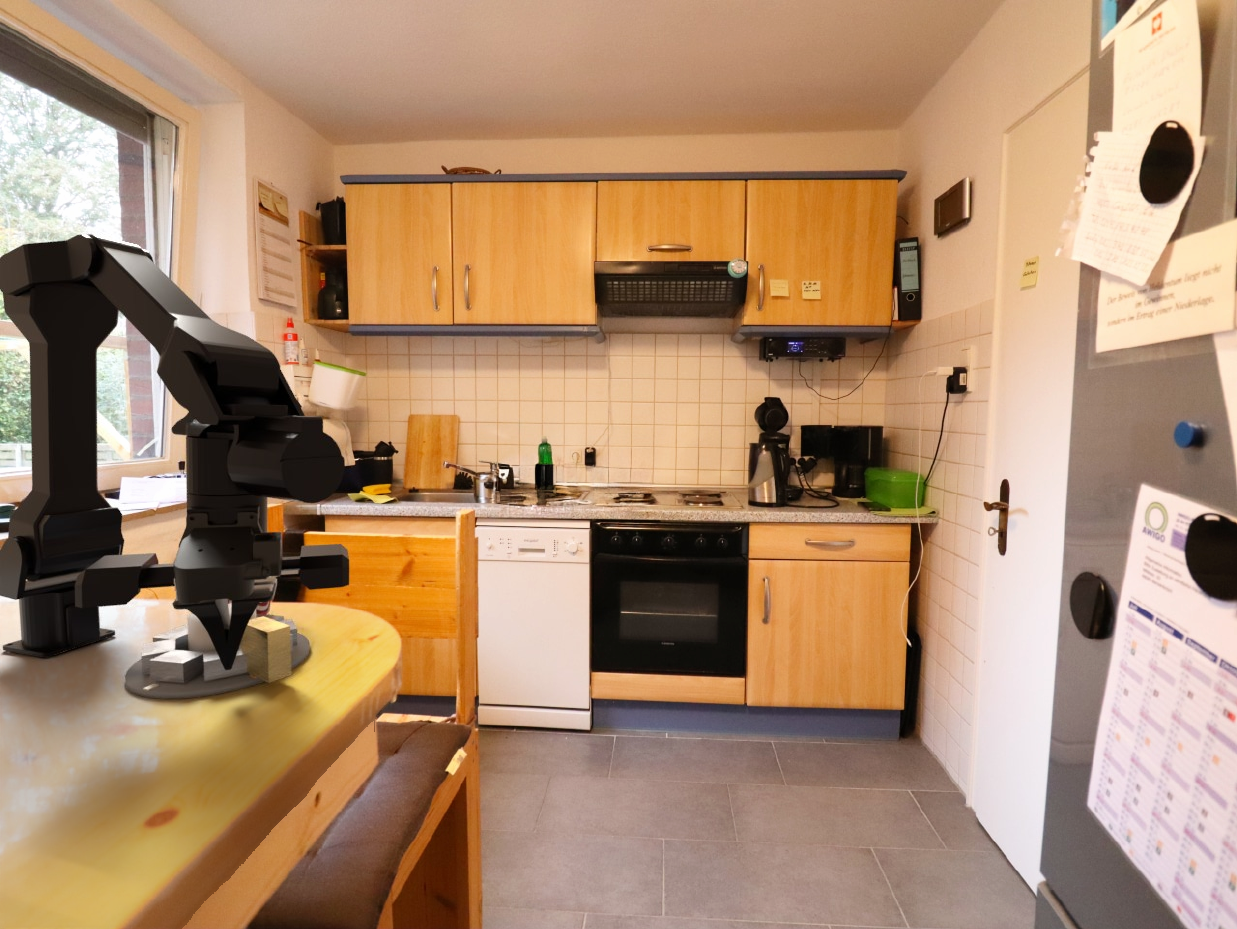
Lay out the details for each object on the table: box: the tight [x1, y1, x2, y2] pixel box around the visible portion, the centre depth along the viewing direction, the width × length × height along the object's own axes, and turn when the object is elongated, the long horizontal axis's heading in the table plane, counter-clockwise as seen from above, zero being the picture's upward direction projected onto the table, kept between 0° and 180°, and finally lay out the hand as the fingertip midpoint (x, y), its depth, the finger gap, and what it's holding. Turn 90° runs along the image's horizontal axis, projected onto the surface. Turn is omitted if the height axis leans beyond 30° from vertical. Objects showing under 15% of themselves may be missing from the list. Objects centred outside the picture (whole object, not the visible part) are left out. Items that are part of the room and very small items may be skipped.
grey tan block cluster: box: [140, 614, 298, 684], centre depth 56 cm, size 16×13×5 cm
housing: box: [124, 603, 311, 700], centre depth 57 cm, size 15×15×5 cm
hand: (229, 668), depth 51 cm, fingers closed
